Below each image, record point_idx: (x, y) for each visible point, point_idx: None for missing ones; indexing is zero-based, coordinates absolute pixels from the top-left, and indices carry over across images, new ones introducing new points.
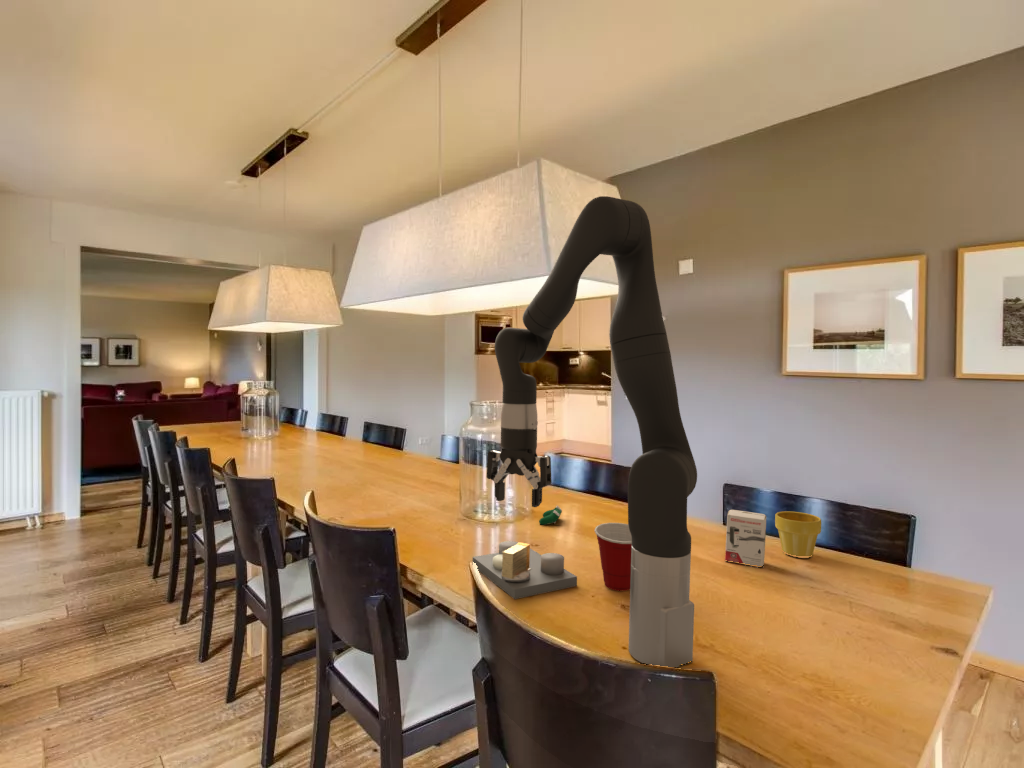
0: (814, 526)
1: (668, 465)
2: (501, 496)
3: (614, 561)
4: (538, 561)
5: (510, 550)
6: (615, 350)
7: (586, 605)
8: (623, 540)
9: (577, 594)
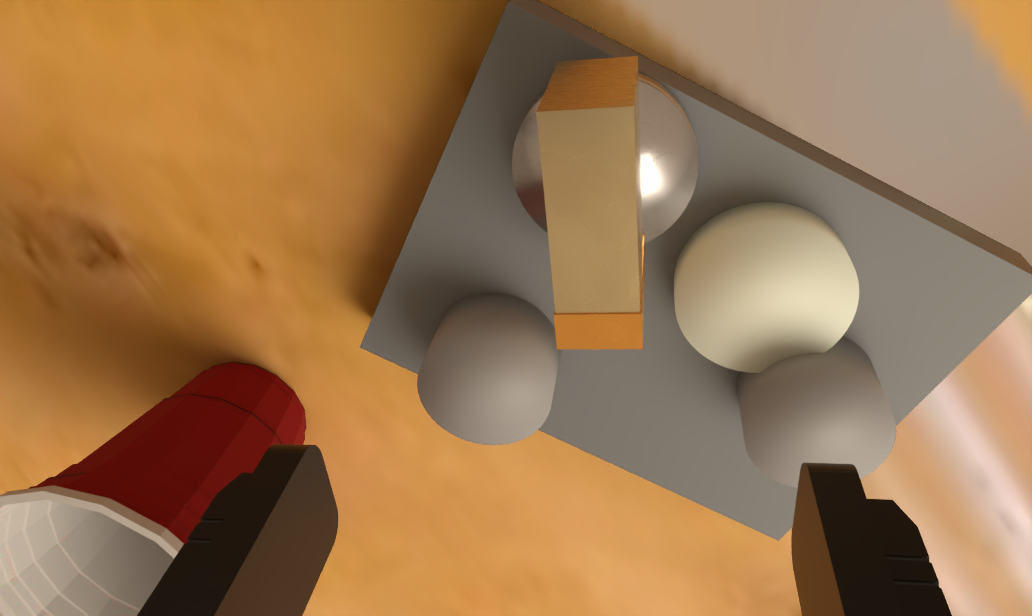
0: None
1: None
2: (808, 538)
3: (137, 432)
4: (628, 412)
5: (601, 171)
6: None
7: (210, 161)
8: None
9: (314, 243)
